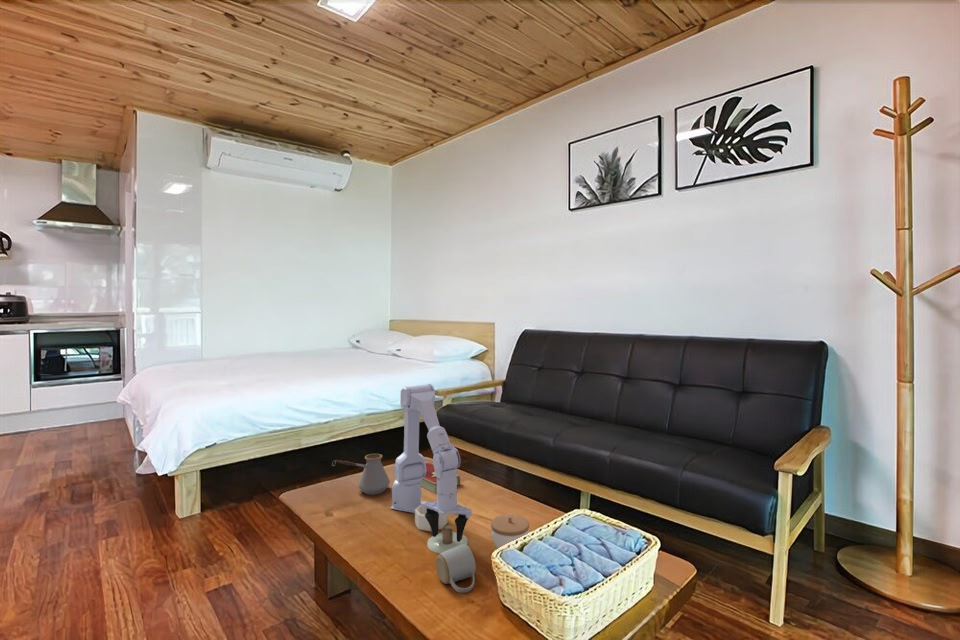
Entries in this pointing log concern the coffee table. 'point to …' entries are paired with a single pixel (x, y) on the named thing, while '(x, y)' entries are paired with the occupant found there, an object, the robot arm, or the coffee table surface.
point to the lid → (445, 540)
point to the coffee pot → (371, 474)
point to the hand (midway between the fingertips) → (447, 537)
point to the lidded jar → (508, 528)
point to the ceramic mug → (456, 566)
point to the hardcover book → (432, 478)
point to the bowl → (422, 521)
